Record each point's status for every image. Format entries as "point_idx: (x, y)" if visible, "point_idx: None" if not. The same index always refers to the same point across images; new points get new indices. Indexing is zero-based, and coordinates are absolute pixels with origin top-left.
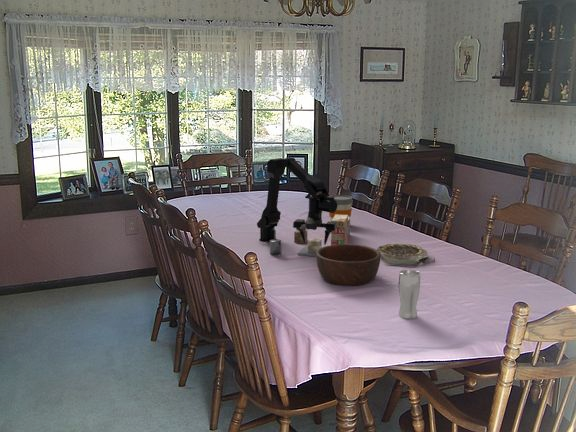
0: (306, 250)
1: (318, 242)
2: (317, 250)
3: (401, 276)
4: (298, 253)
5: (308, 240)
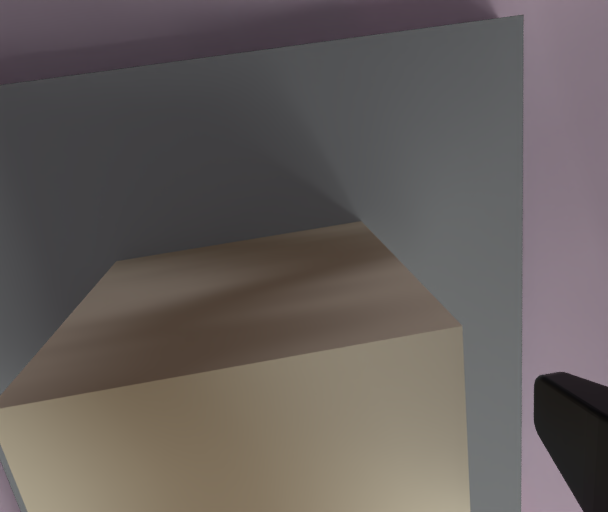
0: None
1: (16, 389)
2: (133, 273)
3: None
4: (510, 18)
5: (453, 383)
